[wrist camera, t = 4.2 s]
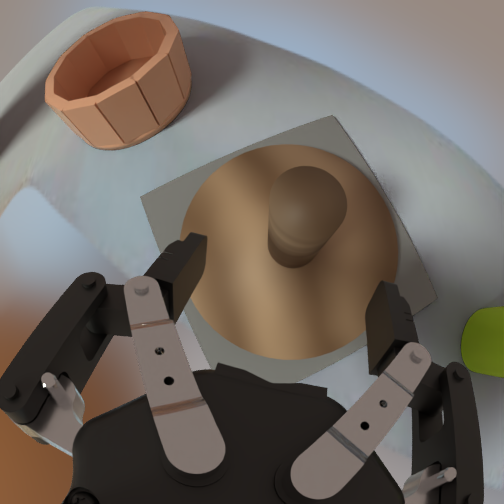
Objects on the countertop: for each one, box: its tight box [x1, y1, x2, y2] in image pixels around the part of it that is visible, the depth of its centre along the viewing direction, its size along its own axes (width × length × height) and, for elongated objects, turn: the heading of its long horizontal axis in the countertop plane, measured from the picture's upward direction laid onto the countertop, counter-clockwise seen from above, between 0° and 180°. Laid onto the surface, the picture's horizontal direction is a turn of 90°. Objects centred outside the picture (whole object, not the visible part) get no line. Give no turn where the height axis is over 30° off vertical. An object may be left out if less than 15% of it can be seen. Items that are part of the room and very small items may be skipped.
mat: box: [140, 115, 437, 383], centre depth 22 cm, size 18×18×1 cm
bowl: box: [45, 11, 192, 150], centre depth 23 cm, size 13×13×7 cm
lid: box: [180, 144, 398, 360], centre depth 17 cm, size 16×16×9 cm
